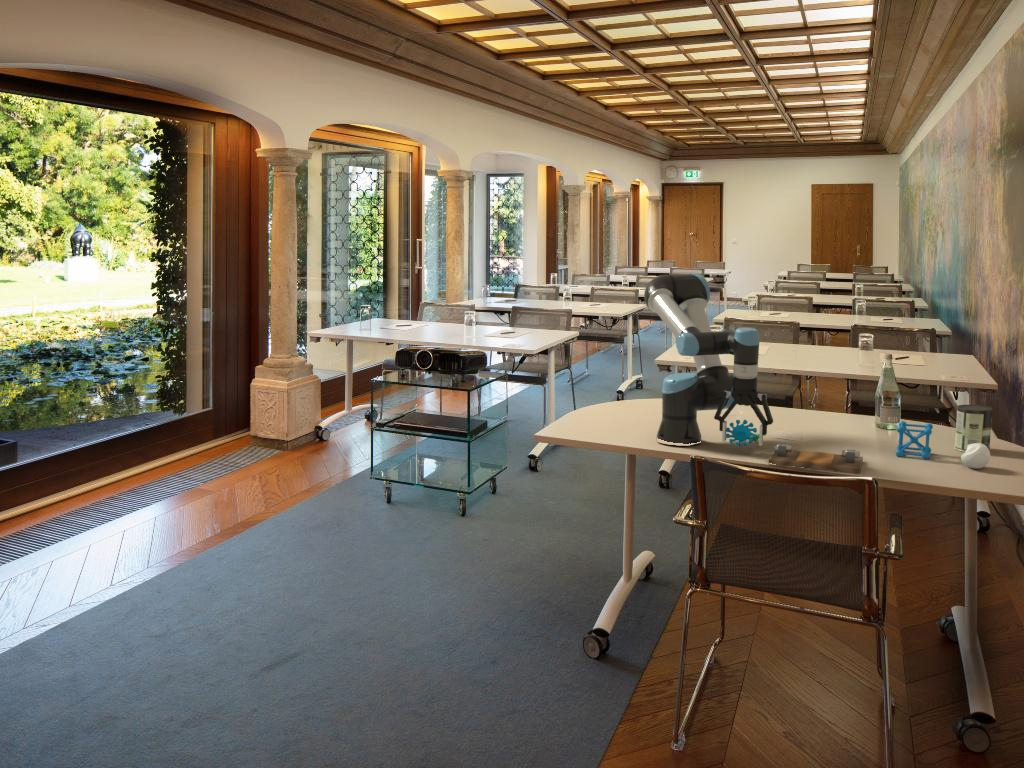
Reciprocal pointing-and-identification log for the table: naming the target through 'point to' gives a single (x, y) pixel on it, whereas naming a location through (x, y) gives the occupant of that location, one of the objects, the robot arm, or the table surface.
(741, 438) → the virus model
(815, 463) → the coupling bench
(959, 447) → the coffee can
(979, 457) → the crumpled paper ball
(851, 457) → the shaft pair
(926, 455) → the molecular structure
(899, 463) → the table surface
